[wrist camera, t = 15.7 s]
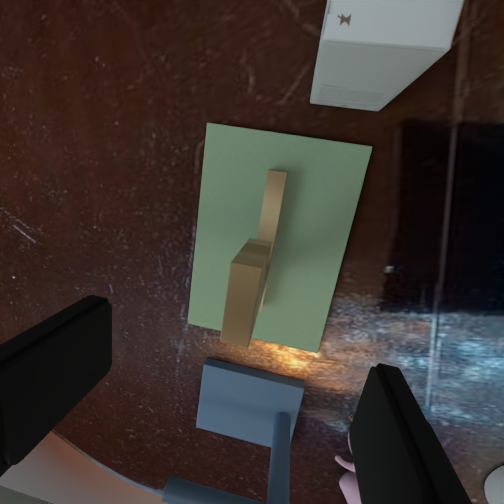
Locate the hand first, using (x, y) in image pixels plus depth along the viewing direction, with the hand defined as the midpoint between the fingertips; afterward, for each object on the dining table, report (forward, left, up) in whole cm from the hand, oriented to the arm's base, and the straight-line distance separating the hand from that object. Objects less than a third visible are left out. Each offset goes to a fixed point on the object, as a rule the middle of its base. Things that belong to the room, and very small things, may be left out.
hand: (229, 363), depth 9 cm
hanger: (0, -1, -17) cm, 17 cm away
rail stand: (+19, +1, -17) cm, 25 cm away
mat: (0, 0, -17) cm, 17 cm away
